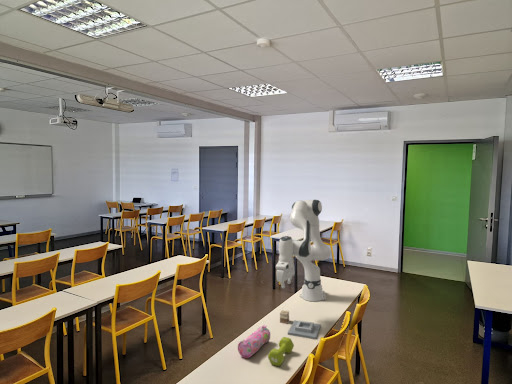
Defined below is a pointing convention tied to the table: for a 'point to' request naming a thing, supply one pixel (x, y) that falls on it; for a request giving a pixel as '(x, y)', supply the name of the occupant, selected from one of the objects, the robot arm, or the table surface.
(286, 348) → the dumbbell
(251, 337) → the pencil case
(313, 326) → the socket board
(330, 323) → the table surface
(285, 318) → the stack block
